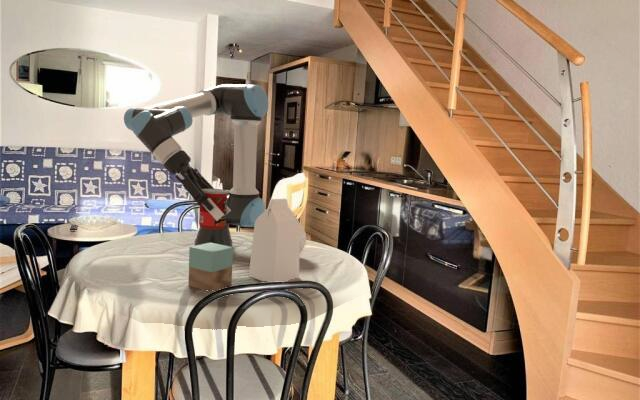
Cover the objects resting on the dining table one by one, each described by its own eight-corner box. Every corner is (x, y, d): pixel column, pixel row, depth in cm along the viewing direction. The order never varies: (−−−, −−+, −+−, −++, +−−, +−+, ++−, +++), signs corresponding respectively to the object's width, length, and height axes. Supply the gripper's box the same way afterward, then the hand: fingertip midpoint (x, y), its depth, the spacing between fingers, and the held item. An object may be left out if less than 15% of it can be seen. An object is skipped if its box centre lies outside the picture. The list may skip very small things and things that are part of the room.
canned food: (219, 230, 139) (221, 192, 138) (193, 227, 141) (195, 189, 140) (229, 226, 147) (231, 190, 145) (205, 223, 148) (206, 187, 147)
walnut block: (209, 279, 152) (210, 261, 151) (231, 285, 147) (232, 266, 147) (188, 285, 144) (189, 266, 144) (210, 292, 140) (211, 272, 139)
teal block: (209, 261, 151) (210, 242, 151) (232, 266, 147) (233, 247, 146) (188, 266, 144) (189, 246, 143) (211, 272, 139) (212, 252, 138)
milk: (274, 270, 168) (278, 196, 164) (299, 278, 160) (304, 200, 157) (248, 276, 158) (252, 197, 155) (273, 284, 151) (278, 202, 148)
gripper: (175, 164, 153) (223, 218, 154) (149, 167, 132) (205, 229, 133) (192, 148, 152) (240, 203, 153) (169, 149, 131) (224, 212, 133)
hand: (224, 215), depth 143 cm, fingers closed on canned food, 8 cm apart
